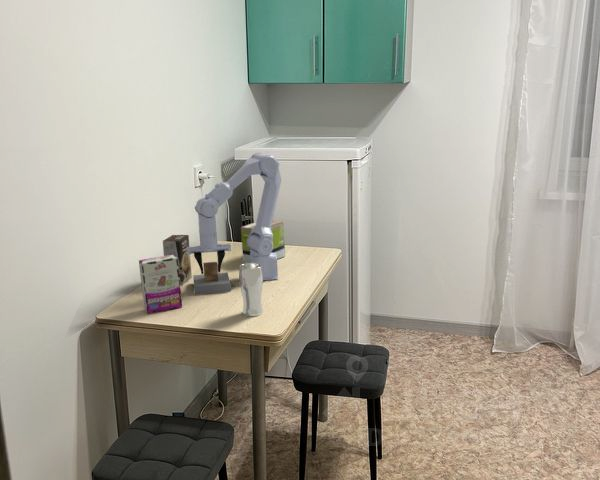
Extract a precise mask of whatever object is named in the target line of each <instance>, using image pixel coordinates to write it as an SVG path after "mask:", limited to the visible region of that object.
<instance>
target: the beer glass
mask: <svg viewBox="0 0 600 480" xmlns="http://www.w3.org/2000/svg"><path fill="white" fill-rule="evenodd" d="M238 270H239V272H238V273H239V275H238V279H239V288H240V292H241V296H242V300H243V306H242V315H243V316H245V317H250V318H251V317H258V316H261V315H262V314H263V313H264V311H263V307H262V294H263V293H262V292H263V284H264V280H263V276H262V268H261V264H259V263H241V264H240V265H239V269H238Z"/></svg>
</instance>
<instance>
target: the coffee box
mask: <svg viewBox="0 0 600 480" xmlns="http://www.w3.org/2000/svg"><path fill="white" fill-rule="evenodd" d="M189 237H190V236H189V234H171V235H170V236H168V237H167V238H165V239H163V240H162V246H163V247H162V249H163V252H162V253H163V256H167V255H174V256H176V257H177V259H178V269H179V279H180V286H183V285H184V284H186V283H187V282H189V280H191V279H192V277H193V275H192V264H191V254H188V252H187V247H190V238H189Z"/></svg>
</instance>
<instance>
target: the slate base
mask: <svg viewBox="0 0 600 480" xmlns="http://www.w3.org/2000/svg"><path fill="white" fill-rule="evenodd" d="M192 277H193V279H192V280H193V291H194V295H195V296H196V295H198V296H199V295H207V294H209V295H210V294H219V293H220V292H221V293H229V292H231V282H230V277H229V272H220V273H218V281H212V282H205V278H204V274H193V275H192Z"/></svg>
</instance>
